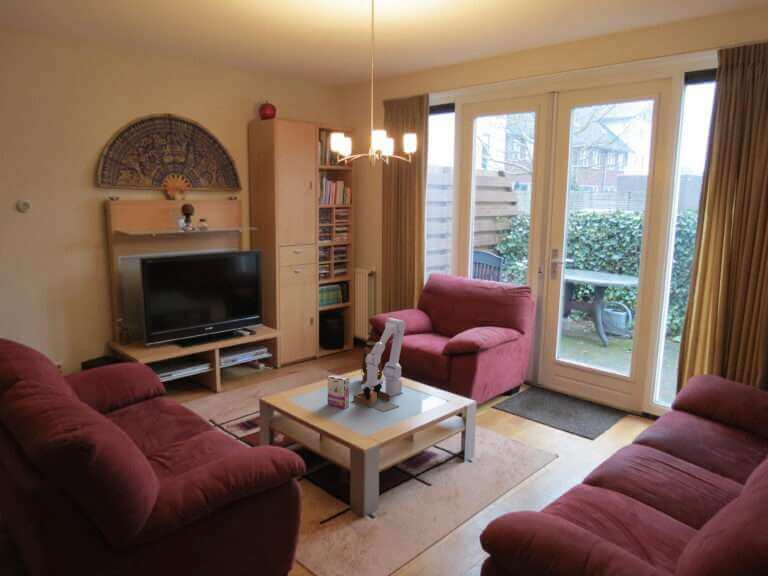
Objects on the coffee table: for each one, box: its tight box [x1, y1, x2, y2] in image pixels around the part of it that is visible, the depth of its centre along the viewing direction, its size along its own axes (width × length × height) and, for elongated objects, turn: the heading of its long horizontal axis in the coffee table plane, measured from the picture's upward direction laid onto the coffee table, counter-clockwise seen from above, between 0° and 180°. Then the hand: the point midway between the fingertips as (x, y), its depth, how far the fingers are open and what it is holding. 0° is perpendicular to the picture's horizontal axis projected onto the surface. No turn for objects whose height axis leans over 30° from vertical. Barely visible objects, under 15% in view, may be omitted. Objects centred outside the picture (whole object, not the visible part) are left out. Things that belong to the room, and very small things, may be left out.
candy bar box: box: [327, 374, 350, 410], centre depth 294 cm, size 11×5×16 cm, turn 62°
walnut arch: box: [352, 388, 391, 409], centre depth 304 cm, size 16×13×4 cm
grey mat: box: [372, 401, 400, 413], centre depth 295 cm, size 12×8×1 cm, turn 132°
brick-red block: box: [368, 391, 378, 404], centre depth 304 cm, size 4×4×5 cm
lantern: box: [360, 334, 383, 385], centre depth 332 cm, size 17×13×30 cm
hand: (371, 398), depth 304 cm, fingers open, 6 cm apart
